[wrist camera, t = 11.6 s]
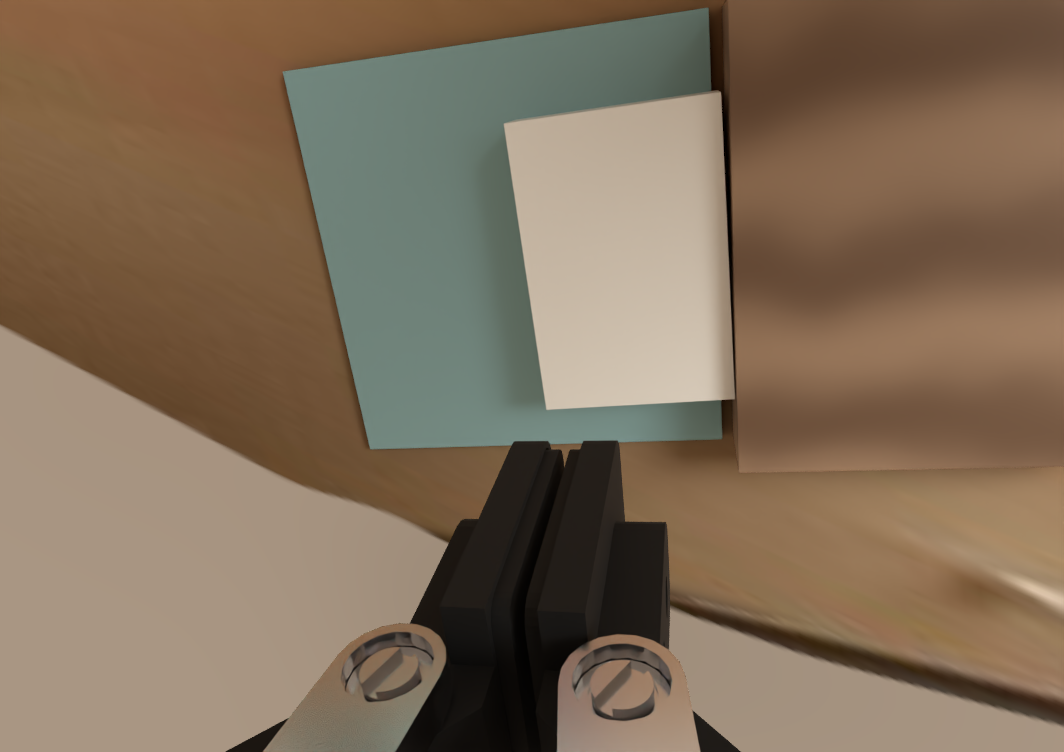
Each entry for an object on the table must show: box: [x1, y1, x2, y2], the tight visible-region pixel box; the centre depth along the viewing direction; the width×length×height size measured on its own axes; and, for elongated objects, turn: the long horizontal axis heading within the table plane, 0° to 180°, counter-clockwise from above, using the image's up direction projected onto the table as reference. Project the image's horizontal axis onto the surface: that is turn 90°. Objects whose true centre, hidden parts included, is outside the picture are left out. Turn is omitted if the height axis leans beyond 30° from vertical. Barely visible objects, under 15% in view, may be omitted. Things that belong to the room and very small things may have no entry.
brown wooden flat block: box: [722, 0, 1064, 473], centre depth 27 cm, size 18×16×4 cm
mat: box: [283, 8, 722, 449], centre depth 32 cm, size 18×18×1 cm
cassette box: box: [504, 90, 735, 410], centre depth 30 cm, size 12×8×2 cm, turn 8°
